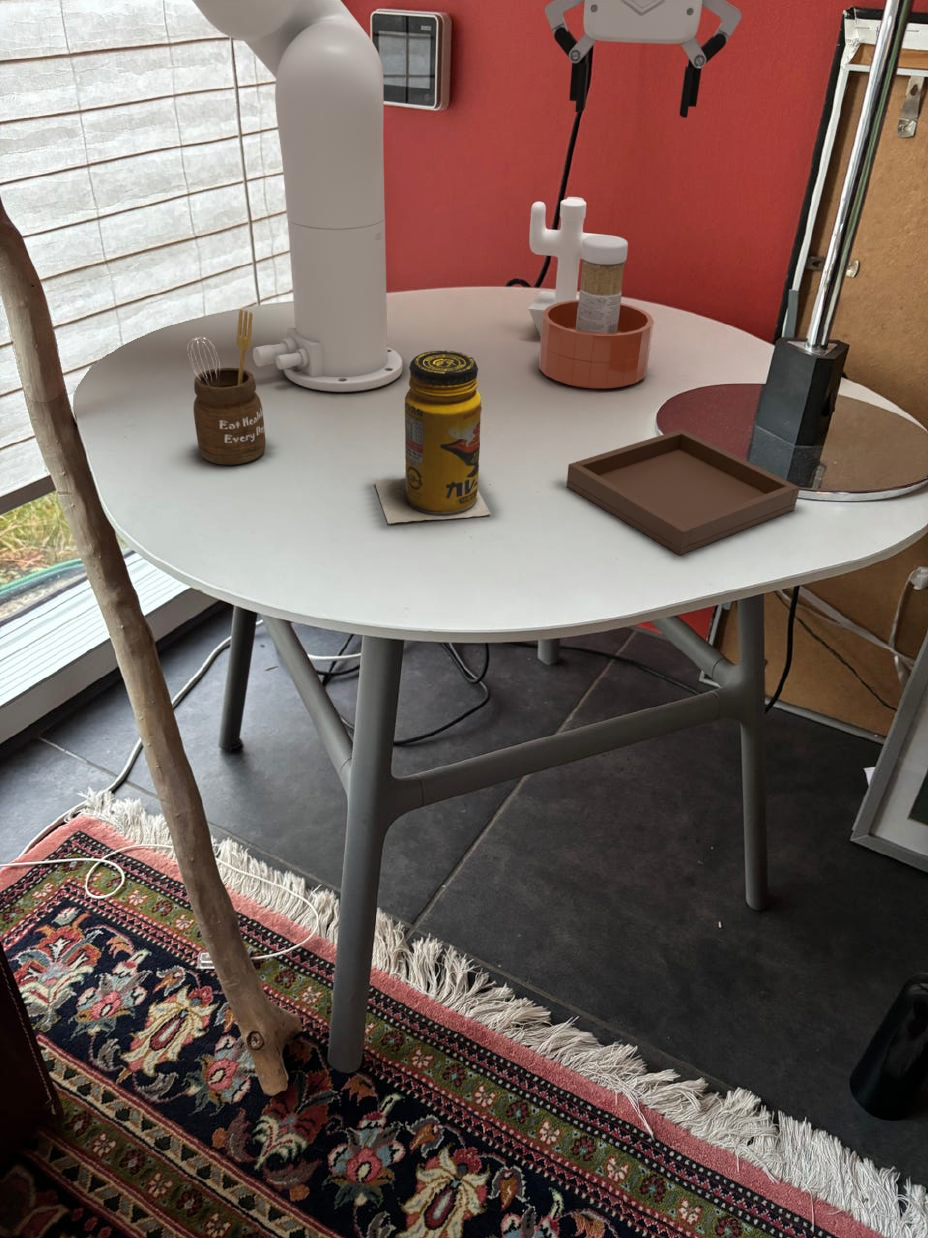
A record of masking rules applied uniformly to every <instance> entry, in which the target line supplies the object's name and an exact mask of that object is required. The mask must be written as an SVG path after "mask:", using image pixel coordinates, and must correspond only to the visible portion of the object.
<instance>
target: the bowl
mask: <svg viewBox="0 0 928 1238" xmlns="http://www.w3.org/2000/svg"><path fill="white" fill-rule="evenodd" d="M578 304H579V300H570V301H565V302H560V303H556V304H553V305H551V306H549V307H547V308H546V309H545V310H544V311H543V313H542V325H541V336H540V340H539V355H538V366H539V367H538V368H539V370H540V371H541V372H542V374H544V375H545V376H546V377H548V378H551V379H553V380H554V381H557V382H560V383H562V384H565V385H569V386H572V387H576V388H583V389H591V390H592V389H594V390H606V389H616V388H622V387H626V386H629V385H633V384H636V383H638V382H639V381H642V380H643V379H644V378H645V376H646V374H647V372H648V365H649V359H650V351H651V345H652V344H651V343H652V336H653V330H654V323H655V322H654V319H653V316H652V315H651V314H650V313H649V312H647V311H646V310H644V309H642V308H639V307H638V306H637V307H636V306H635V305H631V304H628V303H623V302H621V303H620V312H619V320H618V328H617V333H614V334H606V333H589V332H582V331H576V321H577V310H578Z"/></svg>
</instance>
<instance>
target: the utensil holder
mask: <svg viewBox="0 0 928 1238" xmlns="http://www.w3.org/2000/svg"><path fill="white" fill-rule="evenodd" d="M253 314H254V313H253V312H252V311H250V312H249V311H248V310H245V311H244V310H243V308H240V309H239V313H238V323H237V331H236V342H235V344H236V346H237V348H238V349H239V351H240V352H239V364H238V367H221V363H220V359H219V356H218V353H217V350H216V347H215V345H214V344H213V343H212V342H211V340H210V339H209V338H207V336H204V337H201V336H197V337H193V338H192V339H191V340H190V341H189V343H188V344H187V348H186V352H189V345H190V343H191V345H190V349H192V350H190V354H192V352H193V356H194V358H195V362H196V364H197V366H198V369H199V371H200V373H198V372H197V370H196V367H195V365H194V360H193V357H192V355H190V354H189V353H187V357H188V360H189V362H190V366H191V368H192V370H193V372H194V374H195V375H196V376H195V377H194V382H193V383H194V384H193V390H194V394H195V395H196V397H195V399H194V402H193V418H194V426H195V432H196V433H195V434H196V440H197V445H198V449H199V452H200V454H201V457H203V458H204V460H206V461H208V462H210V463H213V464H217V465H225V466H233V465H241V464H247V463H249V462H252V461H255V460H257V459H258V458H259V457H261V456H262V455H263V454H264V452H265V449H266V431H265V430H266V429H265V420H264V412H263V406H262V402H261V399H260V397H259V395H258V394H257V393H256V390H257V383H256V380H255V377H254V374H252V372H251V371H249V370H247V369H245V358H246V352H247V351H249V350H250V349H251V346H252V335H253V334H252V332H253V318H254V315H253ZM202 339H203V340H205V341H206V340H207V341H208V342H209V343H210V345H211V348H212V351H213V355H214V359H215V360H218V361H215V363H214V359H213V356H212V354H211V351H210V349H209V347H208V345H207V344H206V342H204V341H203V340H202ZM199 340H200V343H201V346H202V349H203V352H204V355H205V360H206V364H207V367H208V369H207V370H205V366H204V362H203V359H202V356H201V351H200V347H199V345H197V349H198V354H199V357H200V360H201V364H202V368H203V371H202V369H201V368H200V365H199V363H198V360H197V357H196V354H195V350H194V347H193V345H194V343H195V342H196V341H197V344H199ZM203 343H204V344H203ZM204 345H205V347H206V348H207V350H208V352H209V354H210V358H211V360H212V364H213V367H214V368H211V369H210V365H209V362H208V361H209V360H208V357H207V355H206V352H205V348H204ZM216 357H217V358H216ZM217 362H218V363H217ZM215 365H216V366H215ZM218 365H219V367H218Z"/></svg>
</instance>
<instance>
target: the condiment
mask: <svg viewBox="0 0 928 1238" xmlns="http://www.w3.org/2000/svg"><path fill="white" fill-rule="evenodd" d="M408 368H409V378H408V379H409V380H408V386H409V389H408V390H407V392H406V394H405V396H404V431H405V432H404V439H405V440H404V448H405V449H404V450H405V451H404V453H405V456H404V458H405V467H404V468H405V478H404V477H403V478H381V479H374V480H373V481H374V484H375V488H376V490H377V494H378V498H379V501H380V504H381V508H382V510H383V513H384V517H385V518H386V522H387V524H396V523H407V522H413V521H414V522H420V521H425V520H427V521H431V520H451V519H462V518H473V517H482V516H489V515H491V514H492V513H491V512H490V510H489V508H488V506H487V503H486V502H485V500H484V499H483V497H482V495H481V493H480V491H479V473H480V452H481V451H480V449H481V447H480V446H481V420H482V419H481V416H482V415H481V414H482V410H483V407H482V398H481V395H480V392H479V391H478V390H477V389H478V386H479V382H478V374H479V373H478V372H479V367H478V364H477V362H476V360H475V359H474V357H472V356H469V355H468V354H466V353H462V352H459V351H458V352H457V351H454V350H431V351H425V352H422V353H420V354H418V355H417V356H416V355H415V357H413V359H412V360H411V361H410V363H409V367H408Z"/></svg>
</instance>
